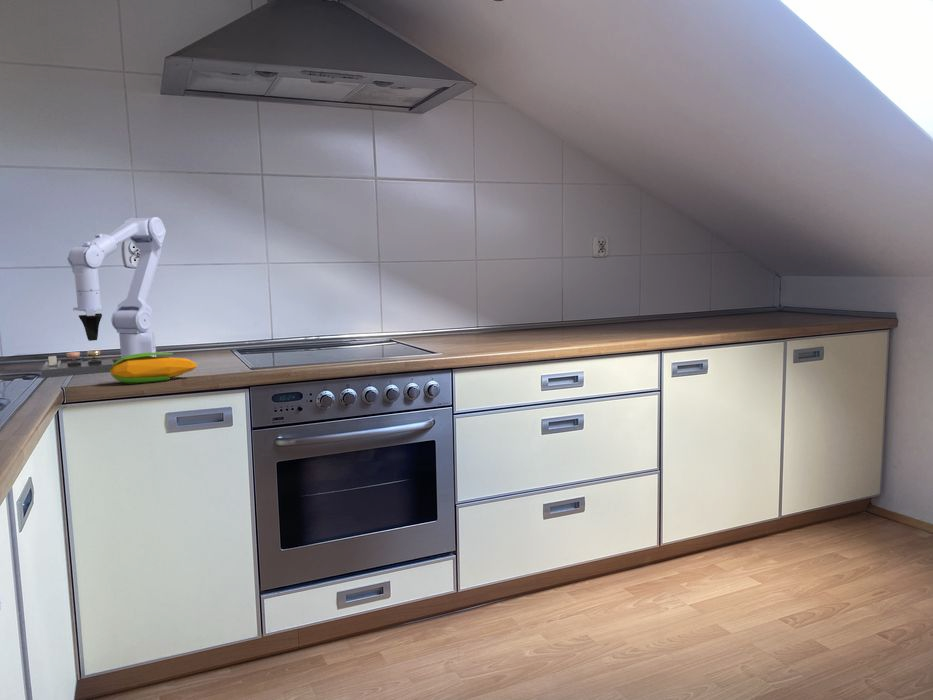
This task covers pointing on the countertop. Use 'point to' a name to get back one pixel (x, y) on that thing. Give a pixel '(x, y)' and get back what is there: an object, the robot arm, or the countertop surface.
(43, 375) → the panel
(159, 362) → the corn
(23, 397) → the countertop surface
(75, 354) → the terracotta button
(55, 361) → the slider knob
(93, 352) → the brass button
